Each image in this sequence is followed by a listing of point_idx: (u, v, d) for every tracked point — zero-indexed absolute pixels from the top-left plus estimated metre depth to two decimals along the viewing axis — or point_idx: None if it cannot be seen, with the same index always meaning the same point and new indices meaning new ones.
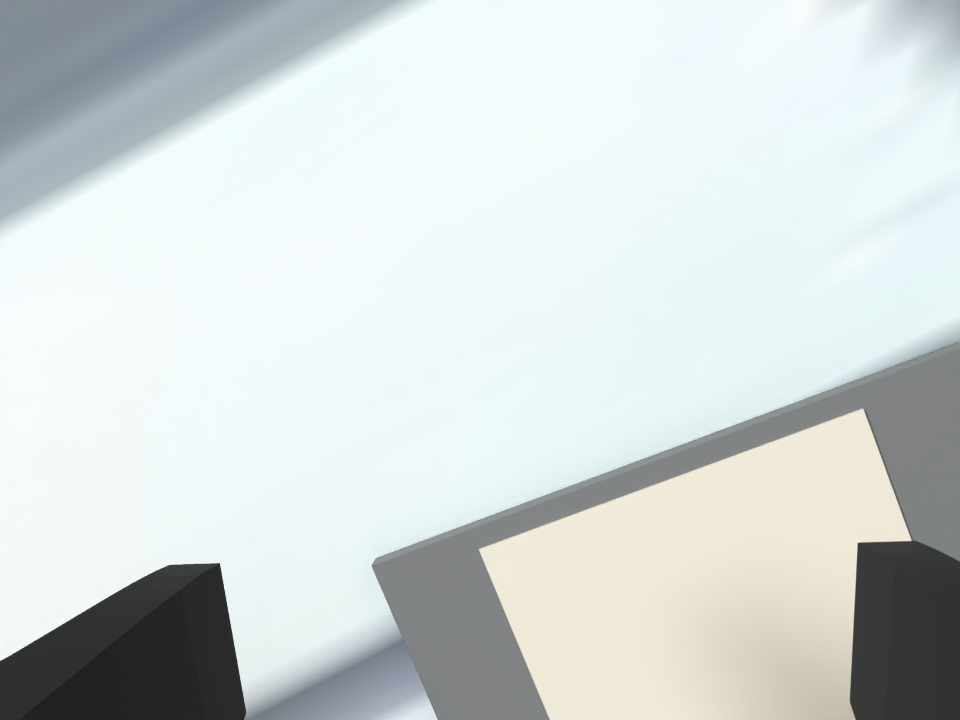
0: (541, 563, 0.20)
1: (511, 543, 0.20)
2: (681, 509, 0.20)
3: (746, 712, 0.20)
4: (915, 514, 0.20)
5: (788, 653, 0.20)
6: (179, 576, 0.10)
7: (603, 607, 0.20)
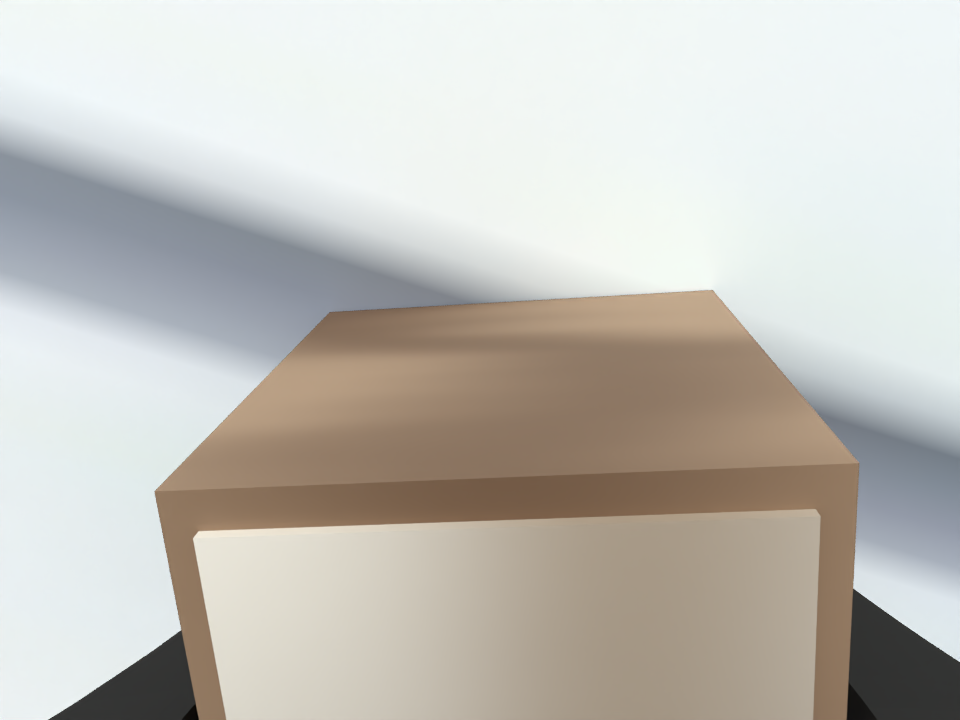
0: None
1: None
2: None
3: None
4: None
5: None
6: None
7: None
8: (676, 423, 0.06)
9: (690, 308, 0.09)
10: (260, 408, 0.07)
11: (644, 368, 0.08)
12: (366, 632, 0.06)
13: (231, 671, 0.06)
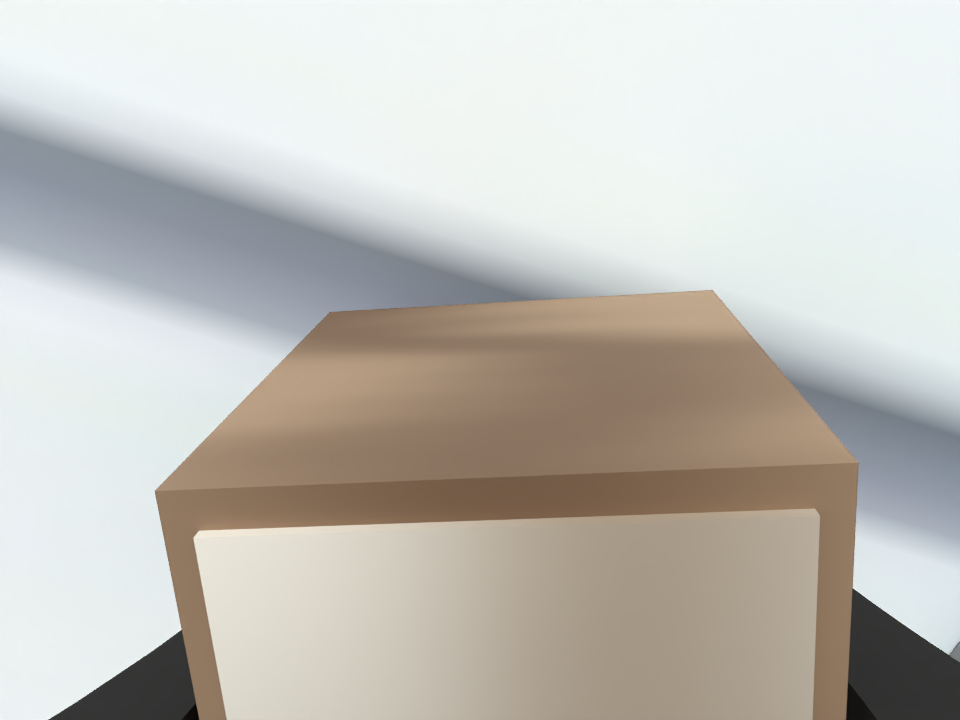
0: None
1: None
2: None
3: None
4: None
5: None
6: None
7: None
8: (677, 421, 0.06)
9: (690, 308, 0.10)
10: (260, 408, 0.07)
11: (643, 366, 0.08)
12: (366, 630, 0.06)
13: (232, 670, 0.06)
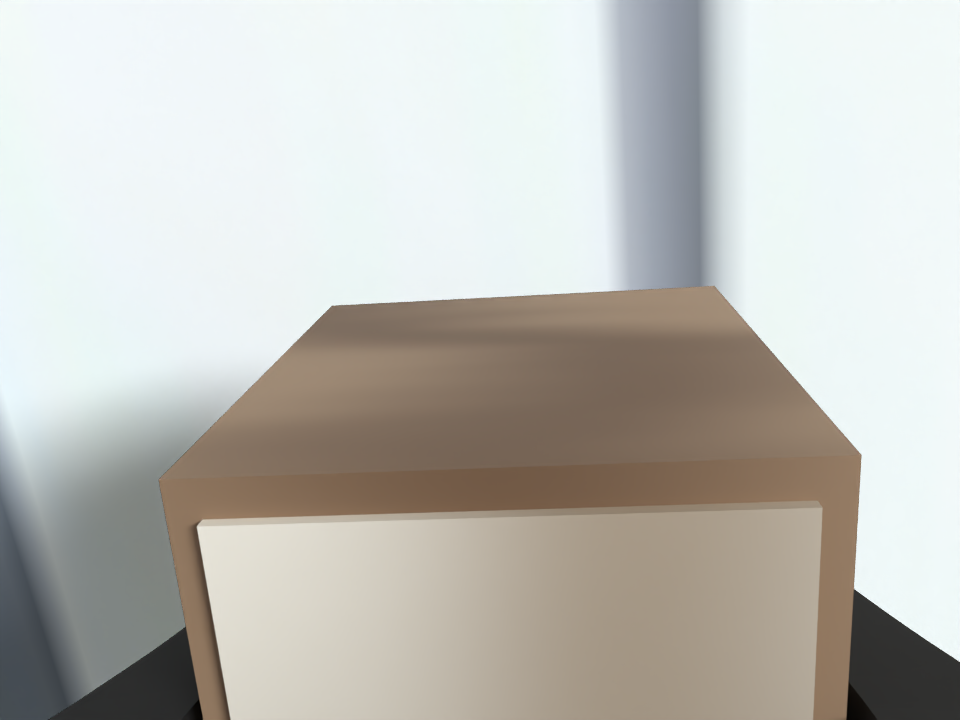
0: None
1: None
2: None
3: None
4: None
5: None
6: None
7: None
8: (679, 414, 0.06)
9: (692, 303, 0.10)
10: (264, 399, 0.07)
11: (645, 361, 0.08)
12: (369, 621, 0.06)
13: (234, 659, 0.06)
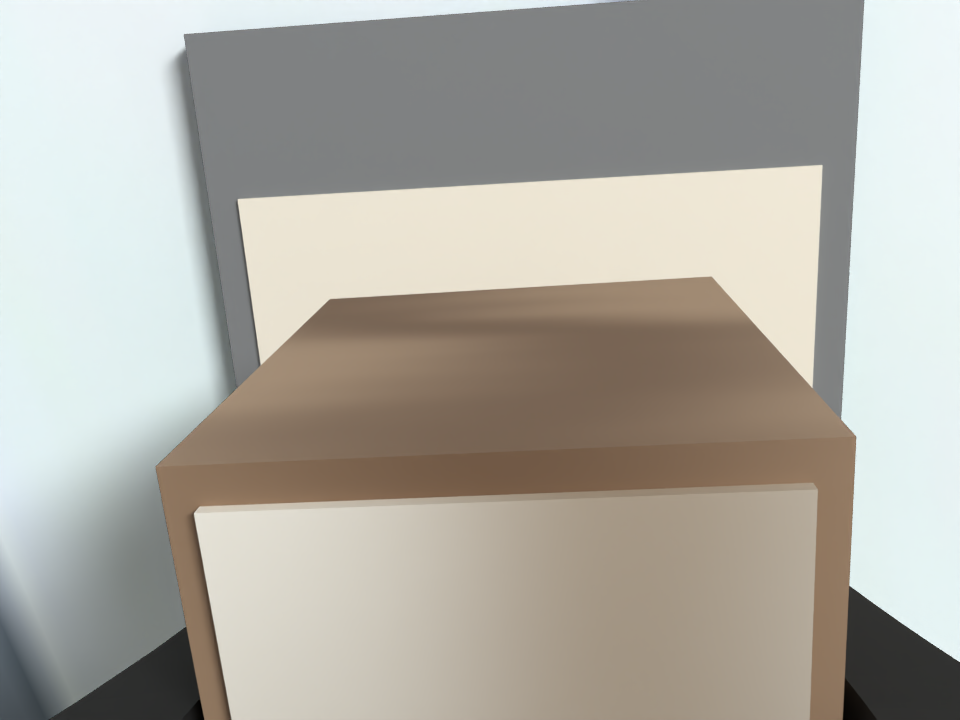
0: (762, 246, 0.14)
1: (809, 214, 0.14)
2: None
3: None
4: None
5: None
6: None
7: None
8: (675, 399, 0.06)
9: (689, 293, 0.10)
10: (261, 390, 0.07)
11: (643, 348, 0.08)
12: (365, 605, 0.06)
13: (232, 646, 0.06)
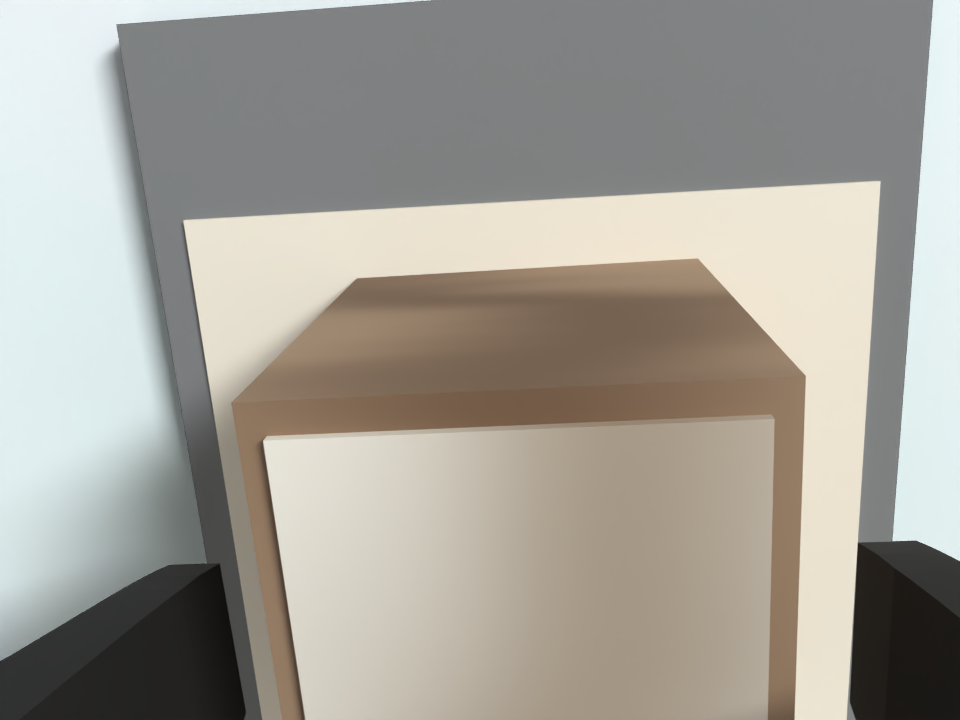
0: (807, 277, 0.12)
1: (863, 239, 0.11)
2: (806, 516, 0.12)
3: None
4: None
5: None
6: (179, 576, 0.10)
7: None
8: (660, 351, 0.08)
9: (677, 272, 0.11)
10: (308, 348, 0.09)
11: (634, 315, 0.09)
12: (403, 519, 0.07)
13: (291, 554, 0.07)
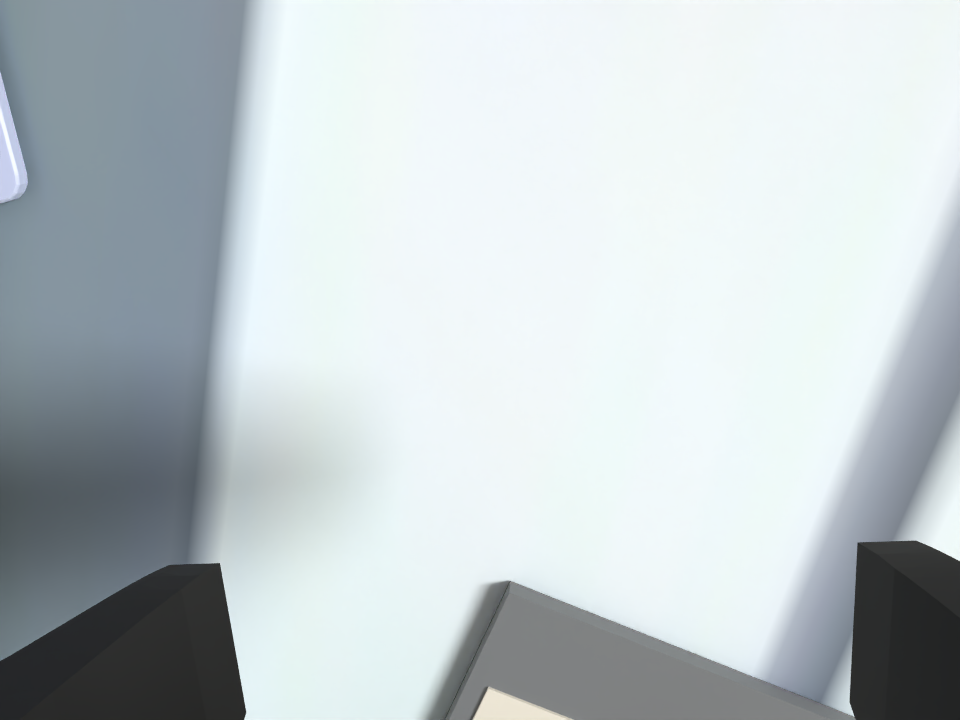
0: None
1: None
2: None
3: None
4: None
5: None
6: (179, 576, 0.10)
7: None
8: None
9: None
10: None
11: None
12: None
13: None
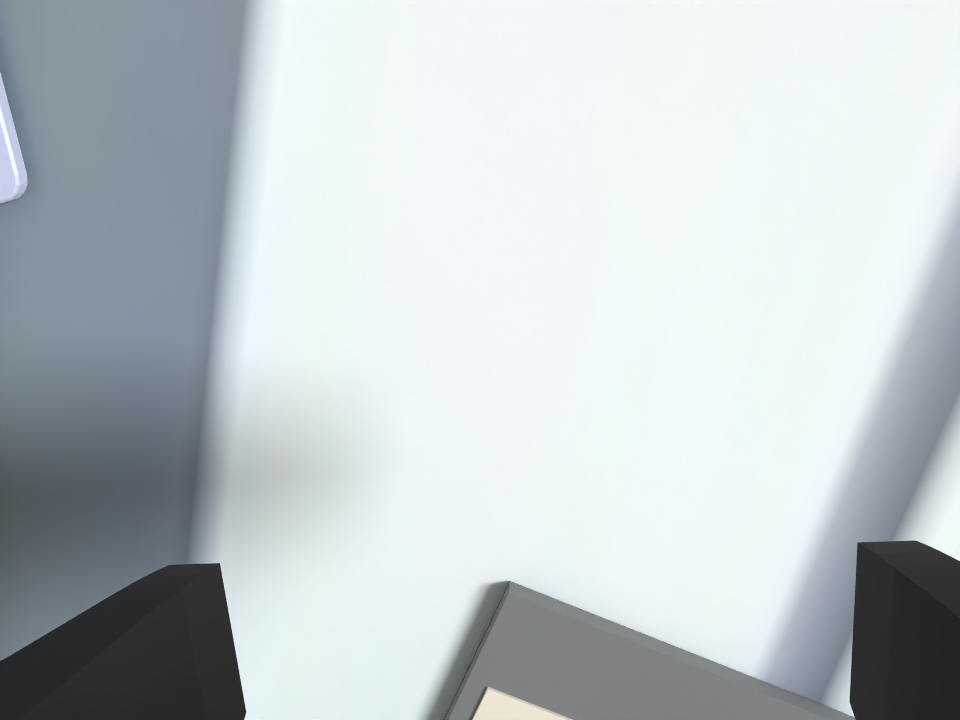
0: None
1: None
2: None
3: None
4: None
5: None
6: (179, 576, 0.10)
7: None
8: None
9: None
10: None
11: None
12: None
13: None
